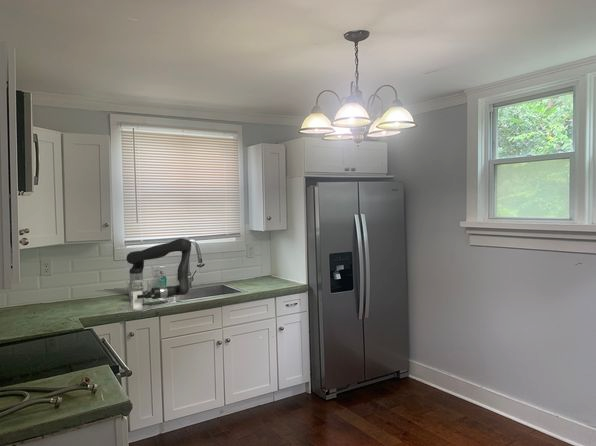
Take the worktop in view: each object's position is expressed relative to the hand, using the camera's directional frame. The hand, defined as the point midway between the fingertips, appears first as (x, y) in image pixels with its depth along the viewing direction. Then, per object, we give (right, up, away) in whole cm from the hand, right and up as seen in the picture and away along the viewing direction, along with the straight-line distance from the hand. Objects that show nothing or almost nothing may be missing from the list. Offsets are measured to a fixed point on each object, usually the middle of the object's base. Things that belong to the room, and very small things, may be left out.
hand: (135, 295), depth 294 cm
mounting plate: (+1, -8, +1) cm, 8 cm away
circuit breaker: (-3, -8, +22) cm, 23 cm away
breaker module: (+1, -7, +1) cm, 8 cm away
